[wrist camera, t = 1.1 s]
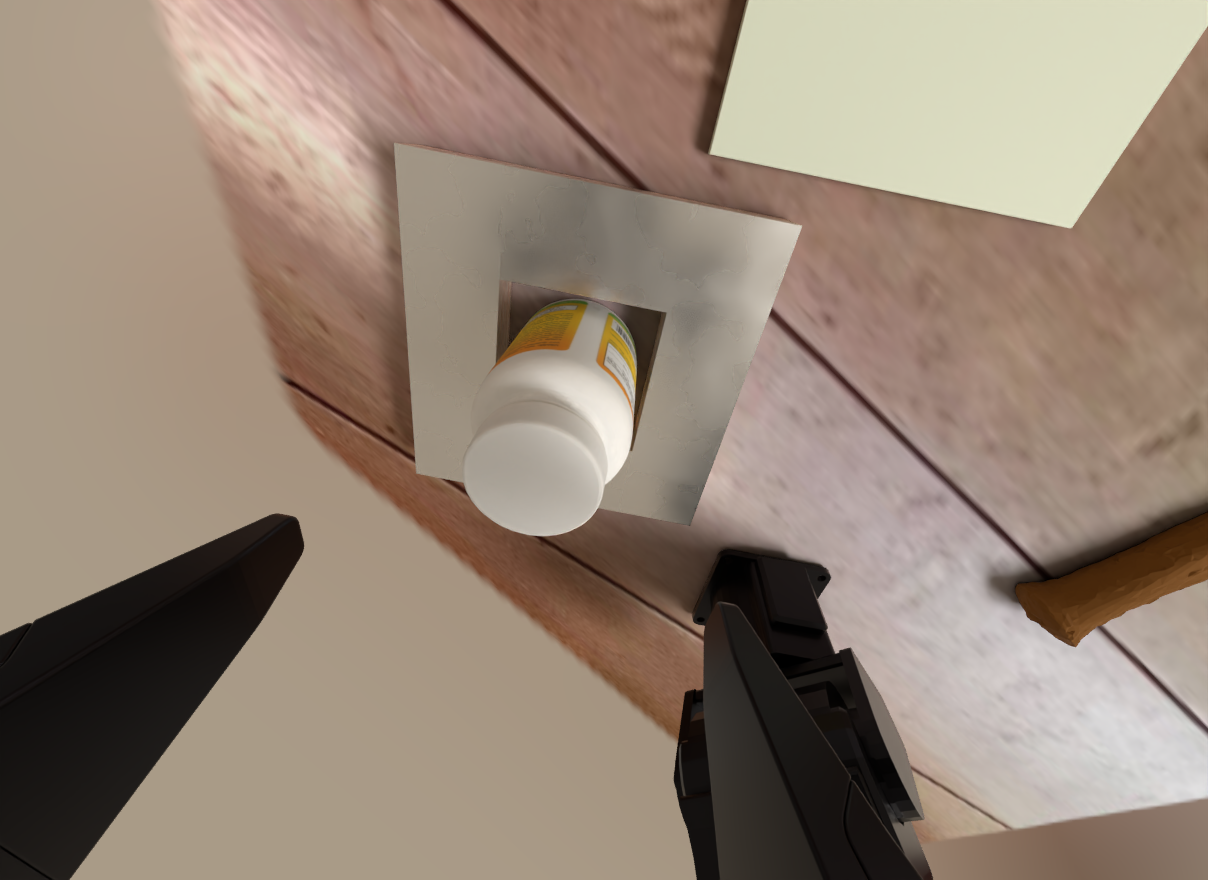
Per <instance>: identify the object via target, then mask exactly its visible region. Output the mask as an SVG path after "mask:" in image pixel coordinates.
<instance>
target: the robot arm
mask: <svg viewBox="0 0 1208 880" xmlns="http://www.w3.org/2000/svg"><path fill="white" fill-rule="evenodd" d="M303 549H304V541H303V537H302V533H301V529H300V525H299V521H298V520H297V518H296V517H293V516H289V515H283V514H272V515H269V516H267V517H265V518H262V519H260V520H258V521H256V522H254V523H251V524H249V525H247V526H245V527H242V528H240V529H238V530H236V531H234V532H231V533H229V534H227V535H224V536H222V537H220V538H218V539H215V540H213V541H211V542H209V543H206V544H204V545H202V546H200V547H198V548H195V549H193V550H191V551H189V552H186V553H184V554H182V555H180V556H177V557H175V558H173V559H171V560H168V561H166V562H164V563H162V564H159V565H157V566H155V567H153V568H150V569H148V570H146V571H144V572H142V573H139V574H137V575H135V576H133V577H130V578H128V579H126V580H124V581H121V582H119V583H117V584H115V585H112V586H110V587H108V588H106V589H103V590H101V591H99V592H97V593H94V594H92V595H90V596H88V597H85V598H83V599H81V600H79V601H77V602H74V603H72V604H70V605H68V606H66V607H63V608H61V609H59V610H56V611H54V612H52V613H50V614H47V615H45V616H43V617H41V618H38V619H36V620H35V621H34V622H33V623H27V624H25V625H22V626H20V627H18V628H16V629H14V630H11V631H9V632H7V633H5V634H2V635H0V880H70V878H71V877H72V876H73V874H74V873H75V872H76V870H77V869H78V868H79V866H80V865H81V864H82V862H83V861H84V860H85V858H86V857H87V856H88V854H89V853H90V851H91V850H92V849H93V848H94V846H95V845H96V843H97V842H98V841H99V839H100V838H101V837H102V835H103V834H104V833H105V831H106V830H107V829H108V827H109V826H110V825H111V823H112V822H113V821H114V819H115V818H116V817H117V815H118V814H119V812H120V811H121V810H122V808H123V807H124V806H125V804H126V803H127V802H128V800H129V799H130V798H131V796H132V795H133V794H134V792H135V791H136V790H137V788H138V787H139V786H140V784H141V783H142V782H143V780H144V779H145V778H146V776H147V775H148V774H149V772H150V771H151V770H152V768H153V767H154V766H155V764H156V763H157V761H158V760H159V759H160V757H161V756H162V755H163V753H164V752H165V751H166V749H167V748H168V747H169V745H170V744H171V743H172V741H173V740H174V739H175V737H176V736H177V735H178V733H179V732H180V731H181V729H182V728H183V726H184V725H185V724H186V723H187V721H188V720H189V719H190V717H191V716H192V714H193V713H194V712H195V710H196V709H197V708H198V706H199V705H200V704H201V702H202V701H203V700H204V698H205V697H206V696H207V694H208V693H209V692H210V690H211V689H212V688H213V686H214V685H215V684H216V682H217V681H218V679H219V678H220V677H221V676H222V674H223V673H224V671H225V670H226V669H227V667H228V666H229V665H230V663H231V662H232V661H233V659H234V658H235V657H236V655H237V654H238V653H239V651H240V650H241V649H242V647H243V646H244V645H245V643H246V642H247V641H248V639H249V638H250V637H251V635H252V634H253V632H254V631H255V630H256V628H257V627H258V625H259V624H260V623H261V621H262V620H263V618H264V616H265V615H266V613H267V612H268V610H269V609H270V607H271V605H272V604H273V602H274V600H275V599H276V597H277V595H278V594H279V592H280V590H281V589H282V587H283V585H284V583H285V582H286V580H287V579H288V577H289V575H290V574H291V572H292V570H293V569H294V567H295V565H296V564H297V562H298V560H299V559H300V557H301V555H302V553H303ZM725 558H728V559H725ZM821 575H822V576H821ZM830 579H831V576H830V574H829V571H828V570H827V569H826V568H824V567H819V566H814V565H809V564H804V563H798V562H793V561H788V560H782V559H777V558H772V557H767V556H761V555H756V554H751V553H746V552H740V551H735V550H730V549H726V550H722V551H721V552H720V553H719V554H718V557H717V559H716V561H715V563H714V566H713V568H712V570H711V572H710V575H709V577H708V579H707V581H706V584H705V586H704V588H703V591H702V593H701V595H700V597H699V600H698V602H697V604H696V606H695V609H694V611H693V614H692V617H693V622H694V623H696V624H698V625H704V626H705V629H704V680H703V689H701V690H695V689H694V690H690V691H686V692H685V696H684V704H683V711H682V718H681V725H680V732H679V739H678V746H677V753H676V761H675V771H674V784H675V787H676V790H677V797H678V801H679V806H680V809H681V813H682V816H683V819H684V821H685V824H686V826H687V830H688V833H689V838H690V843H691V848H692V852H693V857H694V863H695V870H696V877H697V880H933V876H932V873H931V870H930V867H929V865H928V862H927V860H926V858H925V855H924V853H923V850H922V848H921V845H920V843H919V840H918V838H917V835H916V833H915V831H914V828H913V826H912V823H911V821H917V820H924V814H923V810H922V806H921V803H920V799H919V796H918V792H917V788H916V785H915V781H914V778H913V774H912V771H911V767H910V763H909V760H908V756H907V753H906V749H905V747H904V744H903V742H902V740H901V737H900V735H899V733H898V731H897V729H896V727H895V725H894V722H893V720H892V718H891V716H890V714H889V712H888V709H887V707H886V705H885V703H884V701H883V699H882V697H881V695H880V693H879V692H878V690H877V689H876V687H875V685H874V684H873V682H872V681H871V679H870V677H869V676H868V674H867V673H866V671H865V670H864V668H863V666H862V665H861V663H860V662H859V660H858V658H857V657H856V655H855V654H854V652H853V650H852V649H851V647H850V648H847V649H843V650H839V653H836V654H835V651H834V649H833V646H832V644H831V641H830V638H829V636H828V633H827V629H828V626H827V623H826V621H825V618H824V615H823V613H822V610H821V608H820V605H819V602H818V600H817V599H818V598H819V596H820V595H821V593H822V592H823V590H824V589H825V587H826V586H827V584H828V583H829V581H830Z"/></svg>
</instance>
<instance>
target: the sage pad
mask: <svg viewBox="0 0 1208 880" xmlns="http://www.w3.org/2000/svg"><path fill="white" fill-rule="evenodd" d="M1207 26H1208V0H747V1H746V5H745V9H744V13H743V17H742V21H741V25H740V29H739V33H738V37H737V41H736V45H735V49H734V53H733V57H732V61H731V65H730V68H729V72H728V76H727V80H726V84H725V88H724V92H723V96H722V100H721V104H720V108H719V112H718V116H717V120H716V124H715V128H714V132H713V136H712V140H711V144H710V148H709V152H708V154H709V155H714V156H719V157H724V158H729V159H734V160H738V161H743V162H748V163H753V164H758V165H763V166H768V167H772V168H777V169H782V170H787V171H792V172H797V173H802V174H806V175H811V176H816V177H821V178H826V179H831V180H836V181H840V182H845V183H850V184H855V185H860V186H865V187H870V188H874V189H879V190H884V191H889V192H894V193H899V194H904V195H908V196H913V197H918V198H923V199H928V200H933V201H938V202H942V203H947V204H952V205H957V206H962V207H967V208H972V209H976V210H981V211H986V212H991V213H996V214H1001V215H1006V216H1010V217H1015V218H1020V219H1025V220H1030V221H1035V222H1040V223H1045V224H1049V225H1054V226H1059V227H1066V228H1072V227H1073V225H1074V224H1075V222H1076V221H1077V219H1078V218H1079V216H1080V215H1081V213H1082V212H1083V210H1084V209H1085V207H1086V206H1087V204H1088V203H1089V202H1090V200H1091V199H1092V197H1093V196H1094V194H1095V193H1096V191H1097V190H1098V188H1099V187H1100V185H1101V184H1102V182H1103V181H1104V179H1105V178H1106V176H1107V175H1108V173H1109V172H1110V170H1111V169H1112V167H1113V166H1114V164H1115V163H1116V161H1117V160H1118V158H1119V157H1120V155H1121V154H1122V152H1123V151H1124V149H1125V148H1126V147H1127V145H1128V144H1129V142H1130V141H1131V139H1132V138H1133V136H1134V135H1135V133H1136V132H1137V130H1138V129H1139V127H1140V126H1141V124H1142V123H1143V121H1144V120H1145V118H1146V117H1147V115H1148V114H1149V112H1150V111H1151V109H1152V108H1153V106H1154V105H1155V103H1156V102H1157V100H1158V99H1159V97H1160V96H1161V94H1162V93H1163V91H1164V90H1165V89H1166V87H1167V86H1168V84H1169V83H1170V81H1171V80H1172V78H1173V77H1174V75H1175V74H1176V72H1177V71H1178V69H1179V68H1180V66H1181V65H1182V63H1183V62H1184V60H1185V59H1186V57H1187V56H1188V54H1189V53H1190V51H1191V50H1192V48H1193V47H1194V45H1195V44H1196V42H1197V41H1198V39H1199V38H1200V36H1201V35H1202V34H1203V32H1204V31H1205V29H1206V28H1207Z"/></svg>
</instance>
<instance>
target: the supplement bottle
mask: <svg viewBox="0 0 1208 880" xmlns="http://www.w3.org/2000/svg"><path fill="white" fill-rule="evenodd" d="M636 374H637V354H636V347H635V343H634V340H633V337H632V335H631V333H630V331H629V329H628V328H627V326H626V325H625V323H624V322H623V321H622V320H621V319H620V317H619V316H618V315H616V314H615V313H614V312H613V311H611V310H610V309H609V308H607V307H605V306H603V305H601V304H599V303H597V302H594V301H590V300H585V299H565V300H560V301H556V302H553V303H551V304H548V305H547V306H545V307H543V308H542V309H540V310H539V311H538V312H536V313H535V314H534V315H533V316H532V317H531V318H530V320H529V321H528V322H527V323H526V325H525V326H524V327H523V328H522V330H521V331H520V333H519V334H518V335H517V337H516V338H515V339H514V340H513V342H512V343H511V345H510V346H509V347H508V348H507V350H506V351H505V352H504V354H503V355H502V356H501V358H500V359H499V360H498V361H497V363H496V364H495V365H494V367H493V368H492V369H491V371H490V372H489V374H488V375H487V376H486V378H485V379H484V381H483V382H482V384H481V386H480V387H479V389H478V391H477V394H476V396H475V399H474V402H473V406H472V411H471V428H472V433H473V439H472V441H471V442H470V444H469V446H468V448H467V450H466V452H465V454H464V458H463V462H462V478H463V483H464V486H465V489H466V491H467V493H468V495H469V497H470V499H471V500H472V501H473V503H474V504H475V505H476V507H477V508H478V509H479V510H480V511H481V512H482V513H483V514H484V515H486V516H487V517H488V518H490V519H491V520H492V521H494V522H495V523H497V524H499V525H500V526H502V527H505V528H507V529H509V530H511V531H515V532H518V533H522V534H526V535H534V536H552V535H559V534H563V533H566V532H569V531H572V530H574V529H576V528H578V527H579V526H581V525H583V524H584V523H585V522H587V521H588V520H589V519H590V518H591V517H592V516H593V514H594V513H595V512H596V510H597V509H598V507H599V505H600V502H601V500H602V496H603V491H604V486H605V484H607V483H608V482H609V481H610V480H611V479H612V478H613V477H614V476H615V475H616V474H617V473H618V472H619V470H620V469H621V468H622V466H623V464H624V462H625V460H626V458H627V456H628V453H629V450H630V446H631V440H632V434H633V421H634V404H635V390H636Z"/></svg>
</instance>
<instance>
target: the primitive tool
mask: <svg viewBox="0 0 1208 880" xmlns="http://www.w3.org/2000/svg"><path fill="white" fill-rule="evenodd" d="M1207 579H1208V512H1207V513H1205V514H1203V515H1200V516H1198V517H1196V518H1194V519H1192V520H1189V521H1186V522H1184V523H1182V524H1179V525H1177V526H1174V527H1172V528H1170V529H1168V530H1166V531H1164V532H1162V533H1160V534H1158V535H1155V536H1153V537H1151V538H1149V539H1148V540H1147V541H1145V542H1143V543H1141V544H1139V545H1137V546H1135V547H1132V548H1130V549H1128V550H1125V551H1123V552H1119V553H1117V554H1115V555H1113V556H1111V557H1109V558H1107V559H1105V560H1102V561H1100V562H1097V563H1095V564H1092V565H1089V566H1086V567H1084V568H1081V569H1079V570H1076V571H1075V572H1073V573H1072V574H1069V575H1066V576H1063V577H1061V578H1059V579H1051V580H1047V581H1045V582H1040V583H1038V582H1030V583H1019V584H1017V586H1016V588H1015V593H1016V595H1017V597H1018V600H1019V602H1020V604H1021V605H1022V607H1023V609H1024V610H1025V612H1026V615H1027V617H1028V618H1029V619H1030V620H1032V621H1035V622H1037V623H1039V624H1040V625H1041V627H1043V628H1044V629H1046V630H1047V631H1048V632H1049V633H1050V634H1052V635H1053V636H1054V637H1055V638H1057V639H1059V640H1061V641H1063V642H1064V643H1066V644H1068V645H1070V646H1073V647H1077V645H1078V643H1079V642H1080V640H1081V639H1082V638H1083V637H1085V636H1086V635H1088V634H1089V633H1090V632H1091V631H1092V630H1093V629H1095V628H1096V626H1101V625H1103V624H1105V623H1107V622H1108V621H1109V620H1111V619H1114V618H1117V617H1119V616H1122V615H1123V614H1124V613H1125V612H1126V611H1128V610H1131V609H1135V608H1137V607H1139V606H1142V605H1144V604H1150V603H1152V602H1154V601H1155V600H1157V599H1159V597H1162V596H1164V595H1167V594H1169V593H1172V592H1175V591H1177V590H1182V589H1183V588H1186V587H1190V586H1192V585H1194V584H1197V583H1200V582H1203V581H1205V580H1207Z"/></svg>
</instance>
